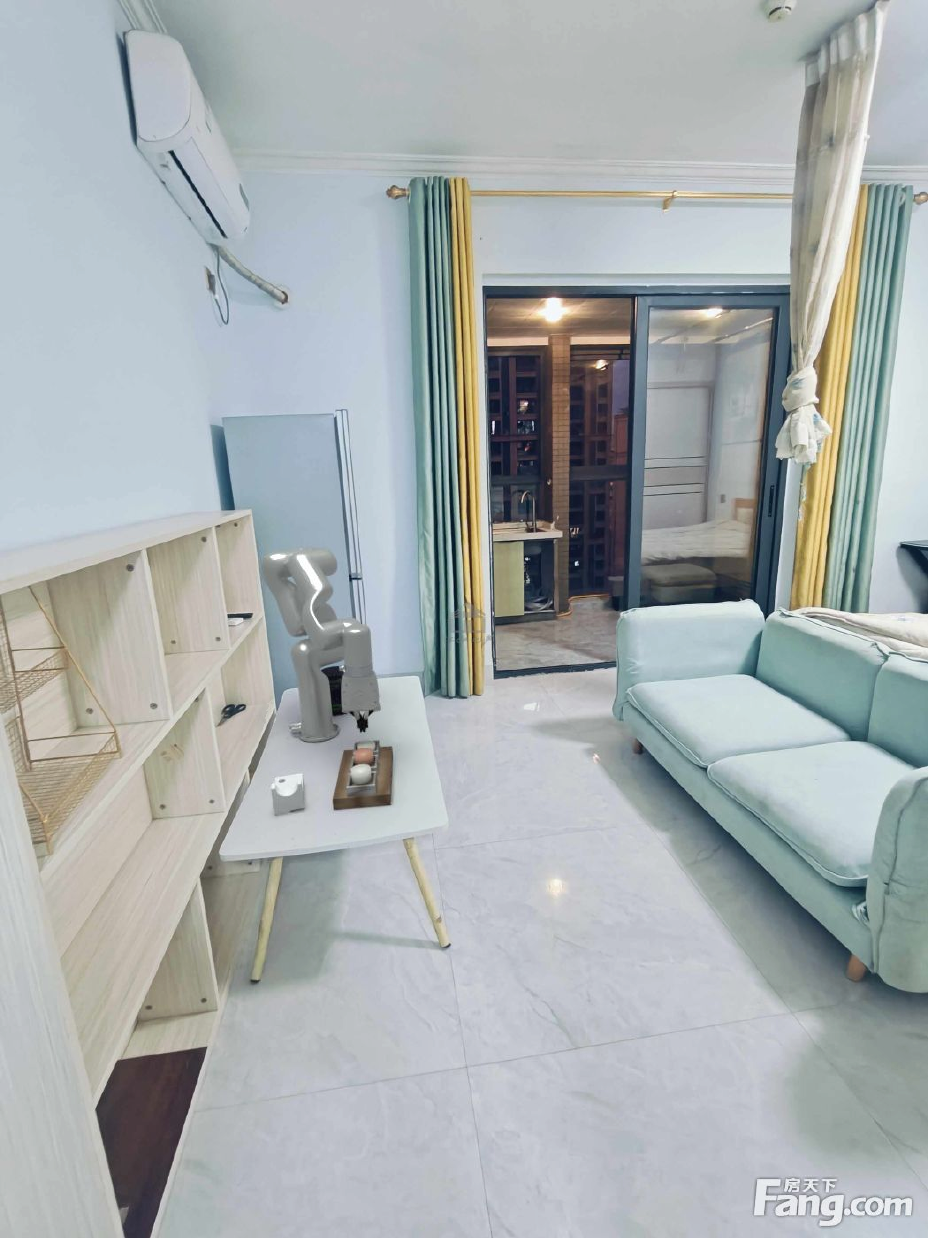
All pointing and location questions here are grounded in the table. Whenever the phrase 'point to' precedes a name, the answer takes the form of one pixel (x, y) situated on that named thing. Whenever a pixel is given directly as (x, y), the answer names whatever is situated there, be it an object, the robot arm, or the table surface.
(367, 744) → the far button
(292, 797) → the bracket
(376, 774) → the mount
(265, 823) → the table surface
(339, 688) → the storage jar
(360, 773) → the near button
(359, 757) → the middle button
